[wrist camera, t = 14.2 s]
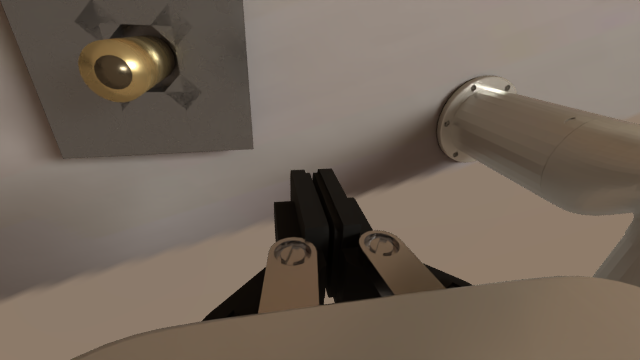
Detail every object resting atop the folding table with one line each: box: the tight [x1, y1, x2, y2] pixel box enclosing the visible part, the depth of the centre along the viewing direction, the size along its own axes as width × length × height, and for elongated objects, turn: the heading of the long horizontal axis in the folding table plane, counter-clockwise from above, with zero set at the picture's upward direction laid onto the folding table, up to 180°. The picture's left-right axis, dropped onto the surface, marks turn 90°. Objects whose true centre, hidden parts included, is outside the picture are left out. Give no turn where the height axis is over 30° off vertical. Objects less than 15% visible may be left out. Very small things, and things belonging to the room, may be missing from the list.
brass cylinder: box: [78, 35, 175, 102], centre depth 24 cm, size 4×4×10 cm
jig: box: [0, 0, 253, 159], centre depth 27 cm, size 18×18×6 cm
